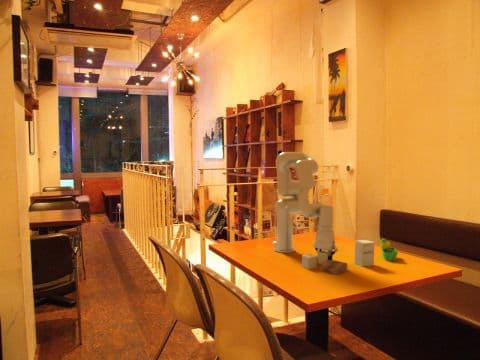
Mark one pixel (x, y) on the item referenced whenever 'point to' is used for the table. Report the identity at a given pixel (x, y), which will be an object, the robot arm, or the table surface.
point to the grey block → (309, 261)
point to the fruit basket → (388, 250)
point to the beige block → (322, 256)
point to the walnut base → (333, 267)
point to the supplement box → (364, 252)
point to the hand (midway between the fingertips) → (324, 261)
